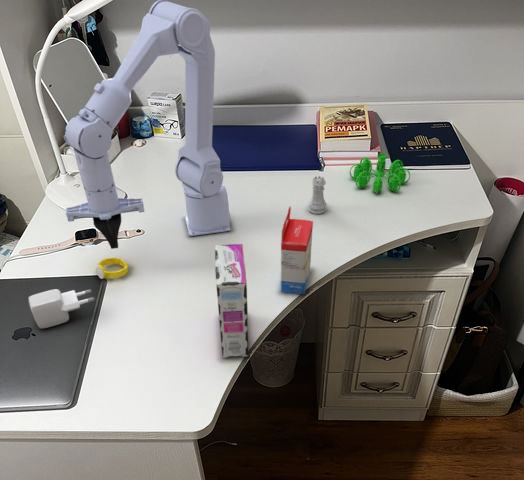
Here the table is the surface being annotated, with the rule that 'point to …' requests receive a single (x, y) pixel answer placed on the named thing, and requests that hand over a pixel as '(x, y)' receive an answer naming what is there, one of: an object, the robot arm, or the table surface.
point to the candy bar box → (232, 300)
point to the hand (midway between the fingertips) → (114, 245)
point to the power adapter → (55, 306)
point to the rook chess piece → (317, 196)
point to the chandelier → (379, 174)
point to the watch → (104, 274)
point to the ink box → (295, 254)
